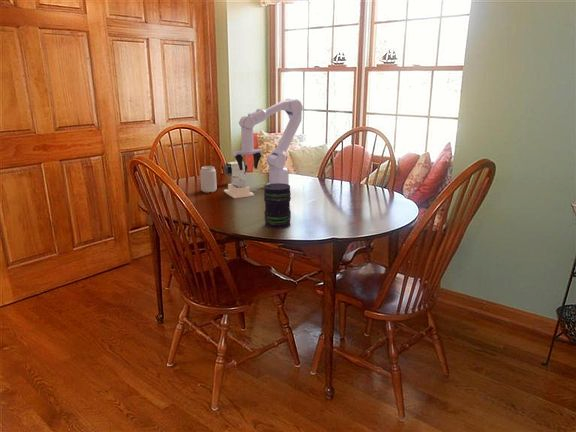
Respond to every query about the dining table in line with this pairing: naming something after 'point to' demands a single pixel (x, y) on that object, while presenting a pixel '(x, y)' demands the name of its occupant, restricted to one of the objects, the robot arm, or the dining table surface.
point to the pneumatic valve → (234, 169)
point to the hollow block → (238, 191)
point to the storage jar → (277, 205)
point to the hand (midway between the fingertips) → (248, 169)
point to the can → (208, 179)
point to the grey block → (238, 182)
